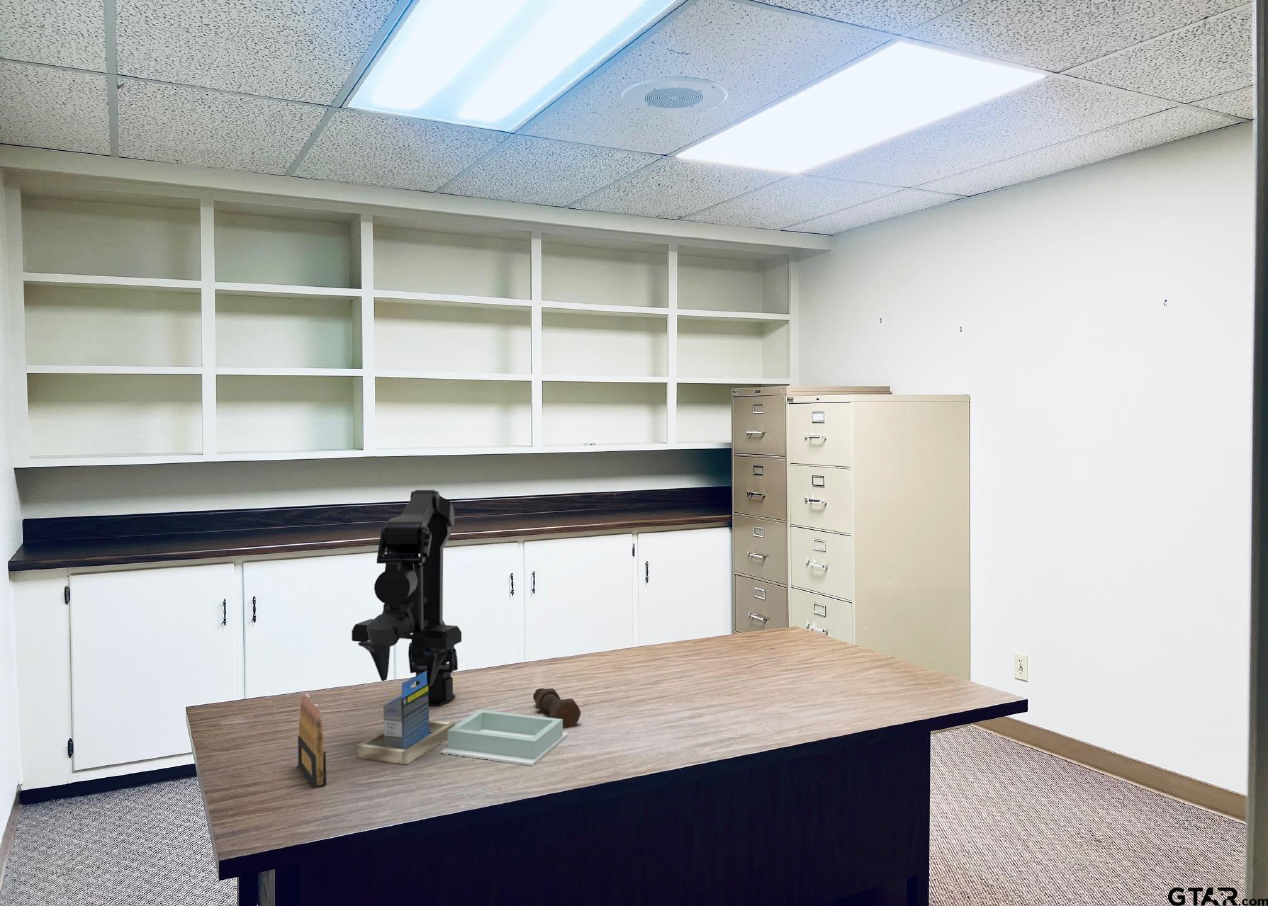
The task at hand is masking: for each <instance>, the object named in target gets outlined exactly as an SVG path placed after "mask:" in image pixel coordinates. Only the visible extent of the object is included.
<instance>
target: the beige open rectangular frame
mask: <svg viewBox="0 0 1268 906" xmlns="http://www.w3.org/2000/svg"><path fill="white" fill-rule="evenodd" d="M455 725H456V723H455V722H449V721H441V720H432V719H429V732H431V733H429V736H427V737H426V738H424V739H422V740H421V741H419V742H417V743H416V744H414V745H413V746H411V747H409V748H408V749H406V750H404V749H396V748H389V747H384V729H383V730H381V731H380V732H378V733H376V734H374V735H372V736H370V737H369V738H366V739H365V740H363V741H361V742H359V743H357V744H356V745H355V758H356V759H357V758H358V759H364V760H371V761H377V762H378V761H379V762H386V763H392V764H399V763H400V764H401V765H406V764H408V765H409V763H410V764H411V763H413V762H414V761H415V759H416V758H417V759H419V758H420V757H422V756H423V755H425V754H426V752H427V753H428V752H430V751H431V750H433V749H434V748H436V747H437V746H439V745H440V744H442V743H444V742H445V741H447V740H448V732H447V730H449V729H450V728H452V727H454V726H455ZM446 739H447V740H446ZM443 741H444V742H443ZM441 742H442V743H441ZM438 744H439V745H438ZM435 746H436V747H435ZM433 747H434V748H433ZM432 748H433V749H432ZM430 749H431V750H430ZM429 750H430V751H429ZM424 753H425V754H424ZM422 754H423V755H422ZM418 757H419V758H418ZM417 759H416V760H417ZM412 761H413V762H412Z"/></svg>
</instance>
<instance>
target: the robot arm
mask: <svg viewBox="0 0 1268 906" xmlns="http://www.w3.org/2000/svg"><path fill="white" fill-rule="evenodd" d="M454 526H455V510H454V506H453V503H452V502H451V501H450V500H448V499H446V498H445V497H443V496H441V495H440V492H439V491H438V490H435V489H415V490H412V491H411V493H410V500H409V501H408V503H407V505H406V506H405V508H404V509H403V512H402V513H401V515H399V516H395V517H394V516H393V517H391V518H390V519H389V520H388V521H386V523H385V525H384V527H382V528H381V532H380V536H379V544H378V551H377V557H376V564H378V565H379V564H380V565H381V564H384V565H385V570H384V571H382V572H381V573H380V574H379V575H378V576H377V577H376V579H375V582H374V587H373V589H374V594H375V596H376V598H377V599H378V600H379V601H380V602H381V603H383V605H382V607H383V609H382V613H381V614H378V615H377V616H376V617H375V618H369V619H367V620H366V619H365V620H364V621H361V622H358V623H355V624H354V626H353V627H352V629H351V641H352V642H357V644H358V646H359V647H362V648H364V649H366V651H368V652H369V654H370V656H371V658H372V660H373V663H374V665H375V669H376V670H377V673H378V675H379V678H380V680H381V681H382V682H385V681H387V680H388V675H389V670H390V669H389V667H390V666H389V665H390V655H391V647H394V646H395V645H396V644H397V643H398V642H399V640H400V639H403V640H404V639H405V640H411V642H409V644H408V653H407V654H408V665H409V666H408V667H409V674H414V673H415V676H417V675H419V674H421V673H423V672H425V671H427V685H428V701H429V706H435V707H439V706H442V705H444V704H446V703H448V701H451V700H452V698H453V699H454V698H456V694H454V687H453V686H454V685H453V684H454V681H453V680H454V679H453V677H452V673H453V672H454V671H458V670H459V665H458V663H459V661H458V660H459V659H458V654H457V653H458V652H457V649H456V648H455V647H456V646H455V645H457V644H459V643H461V642H462V637H463V636H462V635H463V634H462V630H461V629H460V628H459V626H458V625H453V624H452V625H448V624H446V623H445V621H444V618H443V615H444V614H443V613H444V611H443V609H444V607H443V606H444V605H443V604H444V601H443V600H444V547H445V545H446V543H447V542H448V540H449V539H450V537H451V535H452V527H453V528H454ZM419 683H420V681H418V682H416V681H415V686H417V685H418V684H419Z"/></svg>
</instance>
